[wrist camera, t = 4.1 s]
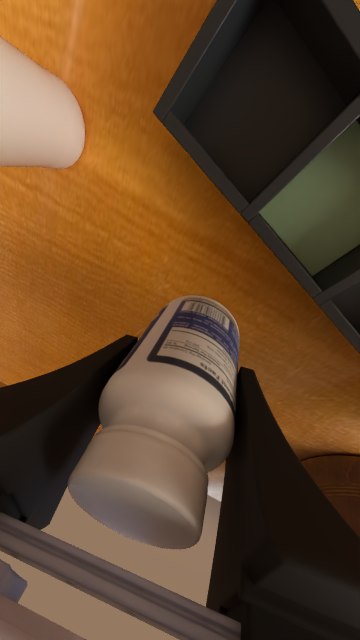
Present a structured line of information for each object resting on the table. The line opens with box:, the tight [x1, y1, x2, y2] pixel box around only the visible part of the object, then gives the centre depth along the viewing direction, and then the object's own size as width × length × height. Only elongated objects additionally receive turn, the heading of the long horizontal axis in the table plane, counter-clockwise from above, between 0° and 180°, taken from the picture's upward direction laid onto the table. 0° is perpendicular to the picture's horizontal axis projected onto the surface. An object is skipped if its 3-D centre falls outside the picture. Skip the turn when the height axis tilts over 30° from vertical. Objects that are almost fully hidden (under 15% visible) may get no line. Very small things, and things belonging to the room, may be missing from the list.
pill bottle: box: [68, 295, 239, 549], centre depth 10 cm, size 5×5×10 cm
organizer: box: [153, 0, 360, 354], centre depth 13 cm, size 22×8×4 cm, turn 47°
